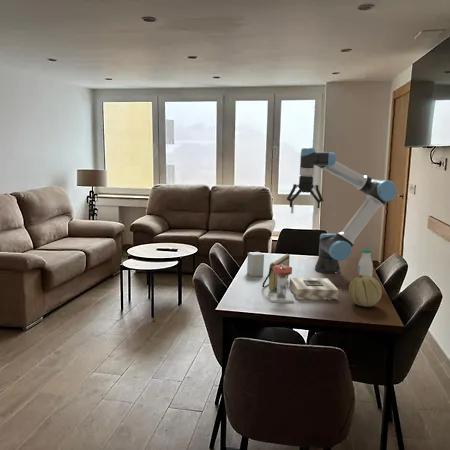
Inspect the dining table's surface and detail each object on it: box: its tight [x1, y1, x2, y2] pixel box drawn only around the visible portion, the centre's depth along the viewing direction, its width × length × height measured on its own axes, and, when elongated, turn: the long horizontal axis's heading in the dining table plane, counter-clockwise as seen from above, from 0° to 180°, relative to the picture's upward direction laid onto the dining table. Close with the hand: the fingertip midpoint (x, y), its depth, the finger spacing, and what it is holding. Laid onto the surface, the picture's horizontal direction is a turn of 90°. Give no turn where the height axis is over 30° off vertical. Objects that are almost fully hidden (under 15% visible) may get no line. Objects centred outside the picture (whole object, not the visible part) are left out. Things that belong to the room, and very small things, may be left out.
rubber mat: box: [267, 292, 295, 304], centre depth 209 cm, size 11×11×1 cm
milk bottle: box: [356, 248, 374, 277], centre depth 235 cm, size 8×8×20 cm
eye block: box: [289, 277, 339, 301], centre depth 219 cm, size 20×20×6 cm
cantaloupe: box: [348, 275, 383, 308], centre depth 201 cm, size 15×15×15 cm
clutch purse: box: [262, 253, 290, 293], centre depth 231 cm, size 30×7×15 cm, turn 155°
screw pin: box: [273, 264, 293, 298], centre depth 208 cm, size 9×9×15 cm
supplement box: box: [246, 251, 265, 277], centre depth 250 cm, size 7×7×13 cm
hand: (304, 213), depth 244 cm, fingers open, 13 cm apart
